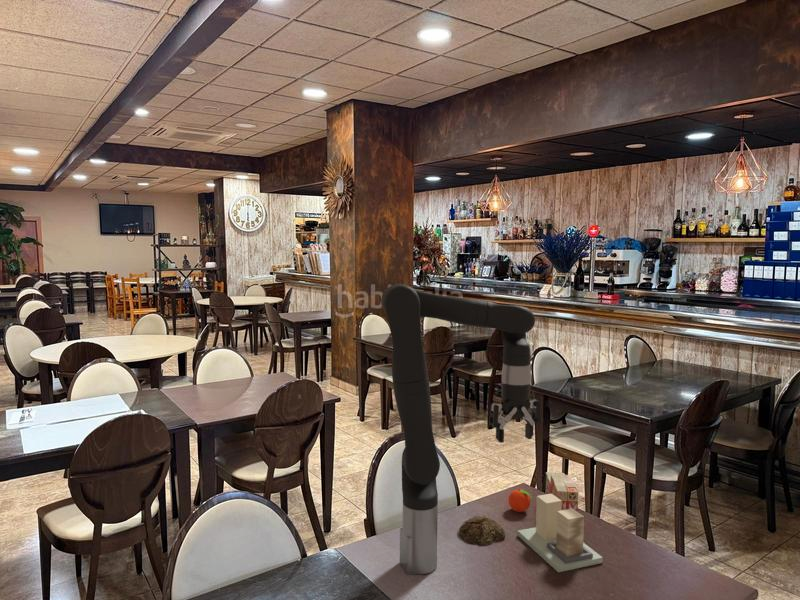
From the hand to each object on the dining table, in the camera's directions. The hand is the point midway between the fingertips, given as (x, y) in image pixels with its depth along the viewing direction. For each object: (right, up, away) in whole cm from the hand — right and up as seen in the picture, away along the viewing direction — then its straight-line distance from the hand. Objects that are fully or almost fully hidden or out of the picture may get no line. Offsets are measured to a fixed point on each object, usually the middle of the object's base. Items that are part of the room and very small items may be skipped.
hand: (514, 440), depth 149 cm
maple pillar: (+16, -32, +3) cm, 35 cm away
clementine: (+8, -31, +30) cm, 44 cm away
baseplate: (+14, -33, +8) cm, 36 cm away
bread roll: (-7, -32, +16) cm, 37 cm away
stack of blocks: (+21, -31, +29) cm, 47 cm away
